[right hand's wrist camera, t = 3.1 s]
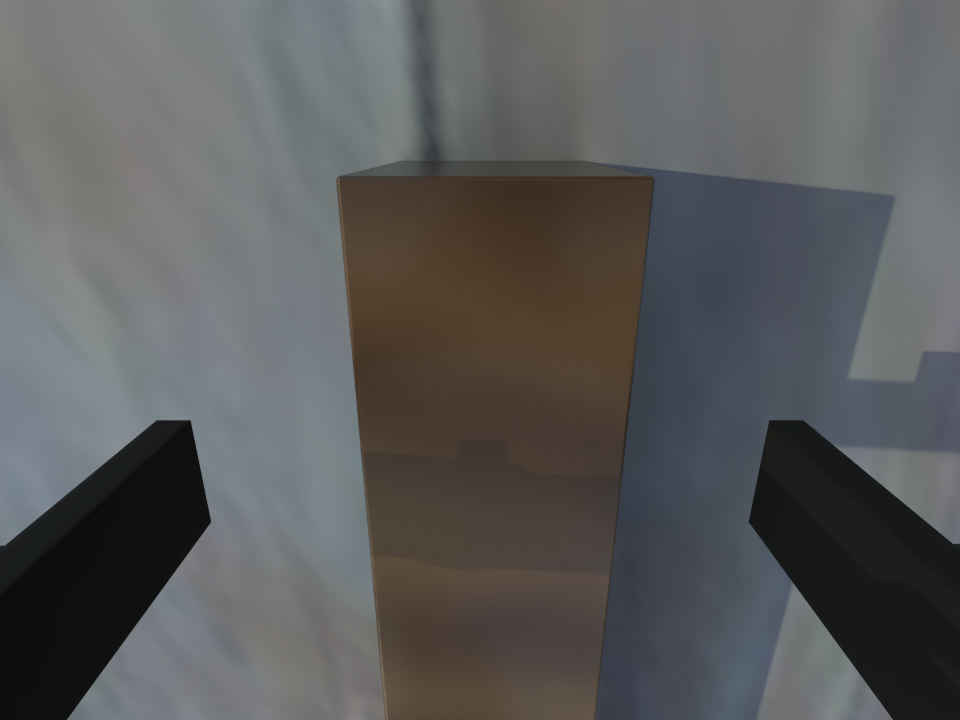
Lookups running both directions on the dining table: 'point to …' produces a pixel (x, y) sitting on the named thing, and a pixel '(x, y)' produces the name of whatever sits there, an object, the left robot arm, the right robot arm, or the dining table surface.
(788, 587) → the dining table surface
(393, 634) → the post
